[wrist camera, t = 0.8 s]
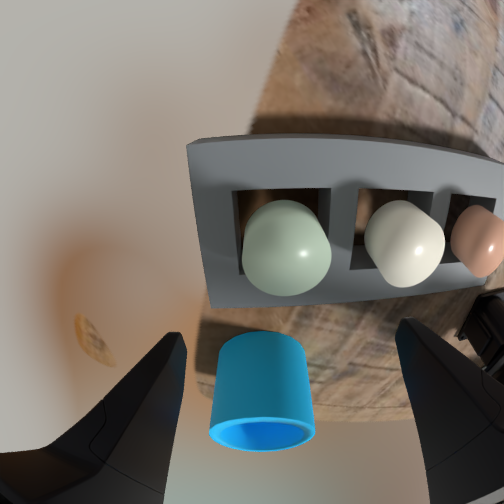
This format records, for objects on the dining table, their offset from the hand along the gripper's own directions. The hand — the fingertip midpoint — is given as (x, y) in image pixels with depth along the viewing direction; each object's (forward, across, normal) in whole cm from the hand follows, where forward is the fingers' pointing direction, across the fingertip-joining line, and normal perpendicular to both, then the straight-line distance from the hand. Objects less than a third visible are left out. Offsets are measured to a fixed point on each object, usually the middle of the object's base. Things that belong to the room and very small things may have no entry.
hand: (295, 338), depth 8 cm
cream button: (+7, -7, 0) cm, 9 cm away
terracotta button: (+7, -13, 0) cm, 15 cm away
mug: (+10, +1, +16) cm, 19 cm away
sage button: (+7, 0, 0) cm, 7 cm away
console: (+10, -7, 0) cm, 12 cm away
